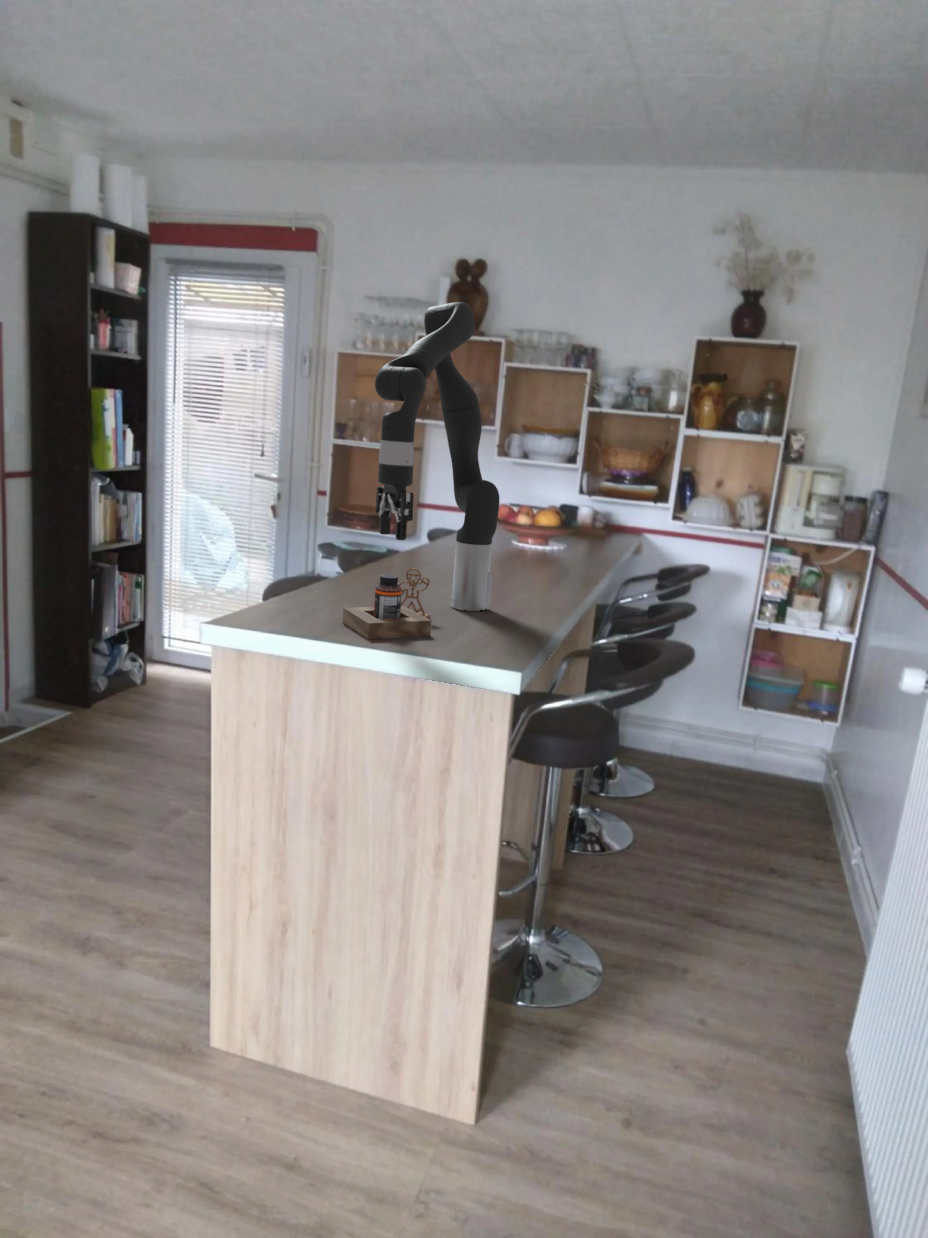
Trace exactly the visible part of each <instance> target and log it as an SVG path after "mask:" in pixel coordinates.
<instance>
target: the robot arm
mask: <svg viewBox="0 0 928 1238" xmlns="http://www.w3.org/2000/svg"><path fill="white" fill-rule="evenodd" d="M474 316H475V315H474V313H473V310H472V308H471V307H470V306H469V304H468V303H466V302H462V301H455V302H449V303H445V304H444V303H443V304H437V305H434V306H430V307H428V308H427V309H426V310H425V313H424V330H425V336H423V337H421V338H420V339H419V340H417V341H416V342H414V343H413V344H412V345H411V346H410V347H409V348H408V350H406V351H405V353H404V354H403V355H402V356H399V357H397V358H395V359H393V360H391V361H389V362H388V363H386V364H384V365H383V366H382V367H381V368H380V369H379V371H378V372H377V374H376V376H375V381H374V387H375V392H376V393H377V395H378V396H379V397H380V398H381V399H383V400H384V401H392V402H393V401H394V402H403V403H402V405H401V407H400V409H398V410H397V411H391V412H387V413H385V414H384V415H383V416H382V420H381V433H380V434H381V436H380V437H381V438H380V439H381V440H380V446H379V454H378V472H377V473H378V475H377V476H378V477H377V482H378V484H380V485H384V486H377V488H376V497H375V498H376V500H375V501H376V502H375V514H378V517H379V534H380V535H389V534H390V532H391V515H392V514H394V516H395V521H396V523H395V540H397V541H405V540H406V539H407V527H408V526H407V525H408V523H409V522H410V521H413V517H414V492H407V487H409V486H412V485H413V482H414V481H413V478H414V463H415V445H414V441H415V427H416V420H417V416H418V413H419V410H420V407H421V403H422V401H423V398H424V394H425V391H426V386H427V385H426V380H427V378H428V377H429V376H430V375H431V374H432V372H435V375H436V381H437V386H438V393H439V398H440V404H441V406H440V407H441V411H442V416H443V417H442V418H443V423H444V429H445V433H446V437H447V444H448V445H447V446H448V450H449V454H450V458H451V459H450V460H451V467H452V480H453V493H454V500H455V503H456V506H457V508H458V509H459V510H461V511H462V512H463V513H464V520H463V524H462V526H461V527H460V528H459V529H457V531H456V536H455V537H456V538H455V547H454V549H455V550H454V562H453V575H452V576H453V577H452V588H451V600H450V601H451V603H450V607H451V608H453V609H455V610H459V611H464V610H467V611H466V612H481V611H480V610H483V611H486V610H490V607H491V606H490V605H491V595H492V584H493V583H492V582H493V573H492V572H490V568H491V567H490V566H491V557H492V546H493V539H494V535H495V534H496V531H497V526H498V518H499V511H500V499H501V498H500V492H499V489H498V487H497V486H496V485H495V484H494V483H493V482H491V481H488V480H485V479H483V477H482V472H481V469H480V462H479V448H480V442H481V437H482V431H483V430H482V428H483V427H482V425H483V422H482V414H481V408H480V402H479V398H478V395H477V393H476V392H475V390H474V389H473V387H472V386H471V385H470V384H469V382H468V381H467V380H466V379H465V378H464V376H463V375H462V374H461V373H460V371H459V370H458V368H457V366H456V365H455V363H454V361H453V357H452V354H451V353H452V352H454V351H456V349H458V348H459V347H461V346H462V345H463V344H465V343H466V342H468V341H469V340H470V339H471V338H472V336H473V335H474V332H475V325H476V321H475V317H474ZM485 609H486V610H485Z"/></svg>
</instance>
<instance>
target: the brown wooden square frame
mask: <svg viewBox="0 0 928 1238" xmlns="http://www.w3.org/2000/svg"><path fill="white" fill-rule="evenodd" d="M418 613H419V612H418ZM418 613H416V612H415V610H412V609H410V608H407V607H406V606H404V605H402V606H401V611H400V618H388V619H377V618H375V617H374V606H358V607H355V606H354V607H343V609H342V624H344V625H345V624H346V625H345V626H347V627H348V628H350V629H351V630H353V629H354V630H353V631H355V632H356V631H357V632H356V633H358V634H359V635H361V636H362V637H364V638H365V639H366V640H379V638H381V639H393V638H395V639H397V638H398V639H399V638H414V637H415V638H417V637H429V636H431V632H432V620H431V619H427V618H426V617H424V616H422V615H420V614H418Z"/></svg>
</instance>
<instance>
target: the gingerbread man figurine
mask: <svg viewBox="0 0 928 1238" xmlns="http://www.w3.org/2000/svg"><path fill="white" fill-rule="evenodd" d="M411 571H416V572H417V573H415V574H414V573H413V572H411ZM411 577H415V579H413V578H411ZM405 578H406V581H402V582H400V583H399V584H398V585H399V586H400V587H401V585H402V584H408V586H409V587H410V590H411V592H410V595H408V594H409V588H408V587H406V588H404V589H402V594H401V596H402V595H404V594H405V598H404V599H403V601H401V606H404V604H405V602H406V600H407V599H414V600H416V602H417V603H418V606H419V608H418V609H416V606H415V604H414V602H413V600H412V601H410V603H408V605H407V607H406V608H408V609H410V607H411V606H412V607H413V611H414V612H416V613H418V614H420V615H422V616H424V617H426V618H427V619H429V620H431V614H430V613H425V610H424V608H423V606H422V603H421V602H420V599H419V594H420V593H419V592H423V591H425V590H427V589H428V587H429V585H430V579H429V578H428V577H423V578H422V574H421V571H420V570H419V569H417V568H414V567H413V568H410V569H408V570H407V572H406V573H405ZM424 580H427V582H426V581H424ZM422 584H424V585H425V588H423V589H417V590H416V595H415V592H414V590H415V588H417V586H418V585H422ZM414 595H415V596H414Z"/></svg>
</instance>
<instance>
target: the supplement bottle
mask: <svg viewBox="0 0 928 1238" xmlns="http://www.w3.org/2000/svg"><path fill="white" fill-rule="evenodd" d="M398 583H399V576H398V575H395V574H387V573H386V574H381V575H380V577H379V582H378V584H376V586H375V588H374V589H375V590H374V606H373V607H374V617H375V618H377V619H388V618H400V611H401V604H402V595H401V594H402V593H403V592H402V590H403V588H402V587H401V585H400V586H399V584H398Z"/></svg>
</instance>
